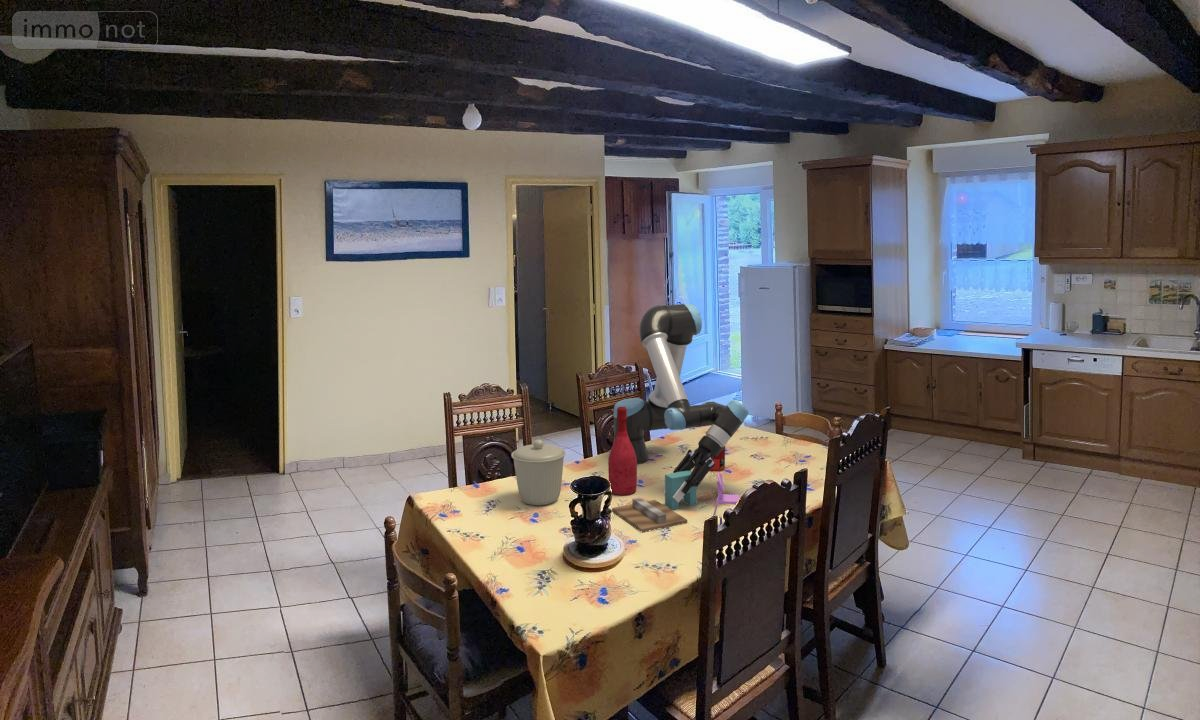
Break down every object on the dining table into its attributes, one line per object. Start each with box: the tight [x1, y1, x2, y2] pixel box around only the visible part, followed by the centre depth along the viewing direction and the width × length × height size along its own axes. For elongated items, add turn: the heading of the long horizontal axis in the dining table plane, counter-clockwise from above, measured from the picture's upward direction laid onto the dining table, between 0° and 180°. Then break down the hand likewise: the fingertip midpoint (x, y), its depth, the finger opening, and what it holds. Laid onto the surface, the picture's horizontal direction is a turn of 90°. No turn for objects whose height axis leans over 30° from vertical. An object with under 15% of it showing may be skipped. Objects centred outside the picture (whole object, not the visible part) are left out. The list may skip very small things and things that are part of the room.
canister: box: [510, 439, 567, 506], centre depth 262 cm, size 18×18×21 cm
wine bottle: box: [607, 407, 638, 496], centre depth 269 cm, size 10×10×30 cm
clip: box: [664, 470, 698, 510], centre depth 257 cm, size 9×4×10 cm, turn 116°
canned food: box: [709, 445, 726, 472], centre depth 294 cm, size 8×8×11 cm
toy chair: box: [712, 472, 740, 517], centre depth 243 cm, size 8×9×15 cm
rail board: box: [611, 496, 688, 533], centre depth 248 cm, size 20×16×4 cm
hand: (671, 497), depth 256 cm, fingers open, 5 cm apart
